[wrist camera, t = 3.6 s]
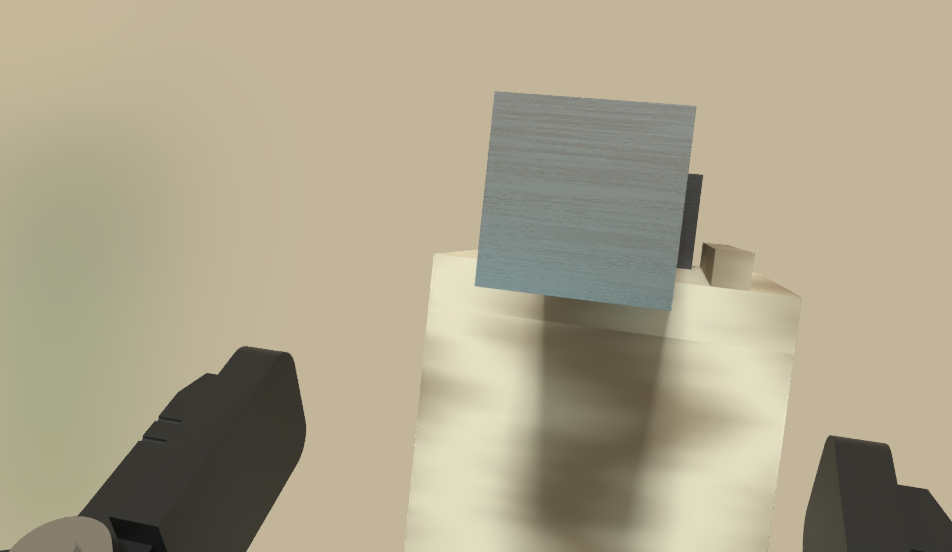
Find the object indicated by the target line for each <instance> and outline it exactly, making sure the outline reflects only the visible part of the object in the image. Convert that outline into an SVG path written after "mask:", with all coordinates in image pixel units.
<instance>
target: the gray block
mask: <svg viewBox="0 0 952 552" xmlns="http://www.w3.org/2000/svg"><path fill="white" fill-rule="evenodd" d="M695 114H696V106H689V105H675V104H661V103H647V102H633V101H620V100H605V99H591V98H578V97H564V96H551V95H536V94H523V93H509V92H496V91H495V95H494V105H493V114H492V123H491V134H490V142H489V152H488V162H487V172H486V181H485V190H484V200H483V210H482V219H481V228H480V238H479V247H478V257H477V266H476V276H475V286H476V287H484V288H492V289H500V290H508V291H516V292H524V293H532V294H540V295H548V296H555V297H563V298H571V299H579V300H587V301H595V302H603V303H611V304H619V305H627V306H635V307H643V308H651V309H659V310H667V311H671V309H672V301H673V293H674V285H675V276H676V268H680V269H689V270H691V268H692V259H693V251H694V244H695V236H696V228H697V220H698V211H699V203H700V194H701V187H702V179H703V175H698V174H688V171H689V163H690V154H691V145H692V138H693V130H694V121H695Z"/></svg>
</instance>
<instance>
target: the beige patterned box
mask: <svg viewBox="0 0 952 552" xmlns="http://www.w3.org/2000/svg"><path fill="white" fill-rule="evenodd" d="M754 256H755V254H754V253H752V252H749V251H745V250H742V249H738V248H735V247H732V246H729V245H720V244H711V243H703V246H702V255H701V263H700V267H698V266H692V268H691V270H689V269H680V268H676V276H675V285H674V293H673V301H672V309H671V311H667V310H659V309H651V308H643V307H635V306H627V305H619V304H611V303H603V302H595V301H587V300H579V299H571V298H563V297H555V296H548V295H540V294H532V293H524V292H516V291H508V290H500V289H492V288H484V287H476V286H475V276H476V266H477V257H478V250H469V251H459V252H448V253H437V254H434V259H433V269H432V278H431V288H430V298H429V308H428V318H427V329H426V338H425V348H424V358H423V368H422V378H421V388H420V397H419V407H418V417H417V427H416V437H415V447H414V457H413V467H412V477H411V487H410V497H409V508H408V517H407V526H406V536H405V546H404V552H768V545H769V538H770V530H771V523H772V515H773V508H774V501H775V494H776V486H777V479H778V471H779V463H780V456H781V449H782V442H783V434H784V427H785V419H786V411H787V404H788V397H789V390H790V382H791V375H792V367H793V360H794V353H795V345H796V338H797V330H798V322H799V315H800V308H801V301H802V297H800V296H799V295H797V294H795V293H793V292H791V291H789V290H788V289H786V288H784V287H782V286H780V285H779V284H777V283H775V282H773V281H771V280H769V279H767V278H766V277H764V276H762V275H760V274H758V273H752V272H753V264H754Z"/></svg>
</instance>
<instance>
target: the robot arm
mask: <svg viewBox="0 0 952 552" xmlns="http://www.w3.org/2000/svg"><path fill="white" fill-rule="evenodd" d="M305 437H306V422H305V416H304V412H303V405H302V400H301V395H300V389H299V384H298V379H297V374H296V369H295V363H294V360H293V357H292V356H291V355H290V354H289V353H286V352H281V351H273V350H268V349H261V348H254V347H247V346H244V347H241V348H239V349H238V350H237V351H236V352H235V353H234V355H233V356H232V357H231V358H230V360H229V361H228V362H227V364H226V365H225V366H224V368H223V369H222V370H221V371H220V373H219V374H218V375H216V374H209V373H206V374H205V375H203V376H202V377H200V378H199V379H197V380H196V381H194V382H193V383H191V384H190V385H188V386H187V387H185V388H184V389H183V390H181V391H180V392H178V393H177V394H176V396H175V397H174V398H173V399H172V400H171V402H170V403H169V404H168V405H167V407H166V408H165V409H164V410H163V412H162V413H161V414H160V415H159V419H158V421H155V422H154V423H153V424H152V425H151V427H150V428H149V429H148V430H147V431H146V433H145V434H144V435H143V439H142V441H138V442H137V444H136V445H135V446H134V447H133V449H132V450H131V451H130V452H129V454H128V455H127V456H126V457H125V459H124V460H123V461H122V462H121V463H120V465H119V466H118V467H117V468H116V470H115V471H114V472H113V473H112V475H111V476H110V477H109V478H108V479H107V481H106V482H105V483H104V484H103V486H102V487H101V488H100V489H99V491H98V492H97V493H96V494H95V496H94V497H93V498H92V499H91V500H90V502H89V503H88V504H87V506H86V507H85V508H84V509H83V510H82V511H81V513H80V514H79V515H78V516H74V517H66V518H61V519H57V520H54V521H51V522H48V523H46V524H44V525H42V526H40V527H38V528H36V529H34V530H33V531H31V532H30V533H28V534H27V535H25V536H24V537H23V538H22V539H20V540H19V541H18V542H17V543H16V544H15V545H14V546H13V547H12V549H11V550H3V551H0V552H246V551H247V549H248V548H249V546H250V544H251V543H252V541H253V539H254V537H255V536H256V534H257V532H258V530H259V529H260V527H261V525H262V523H263V522H264V520H265V518H266V517H267V515H268V513H269V511H270V510H271V508H272V506H273V505H274V503H275V501H276V499H277V498H278V496H279V494H280V492H281V491H282V489H283V487H284V486H285V484H286V482H287V480H288V479H289V477H290V475H291V473H292V472H293V470H294V468H295V467H296V465H297V463H298V461H299V459H300V457H301V454H302V451H303V447H304V443H305ZM803 552H952V522H951V520H950V519H949V518H948V516H947V515H946V513H945V512H944V511H943V510H942V508H941V507H940V505H939V504H938V503H937V501H936V500H935V499H934V497H933V496H932V495H931V494H930V492H929V491H928V490H927V489H922V488H915V487H909V486H903V485H898V484H897V479H896V474H895V469H894V464H893V458H892V454H891V450H890V447H889V446H888V445H887V444H884V443H878V442H871V441H864V440H858V439H851V438H845V437H838V436H829V437H828V438H827V440H826V442H825V446H824V449H823V453H822V456H821V460H820V464H819V467H818V471H817V474H816V478H815V482H814V485H813V489H812V492H811V496H810V500H809V503H808V507H807V511H806V516H805V523H804V533H803Z"/></svg>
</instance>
